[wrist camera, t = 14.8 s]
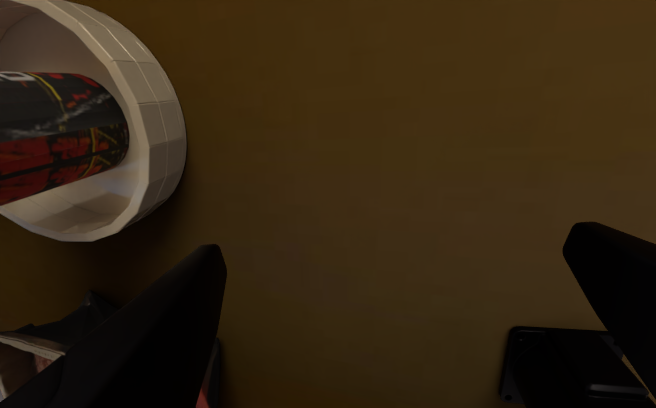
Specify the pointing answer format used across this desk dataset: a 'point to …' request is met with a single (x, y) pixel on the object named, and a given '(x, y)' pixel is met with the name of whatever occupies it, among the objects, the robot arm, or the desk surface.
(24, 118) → the deodorant
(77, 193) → the pan
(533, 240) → the desk surface
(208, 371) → the baking dish
